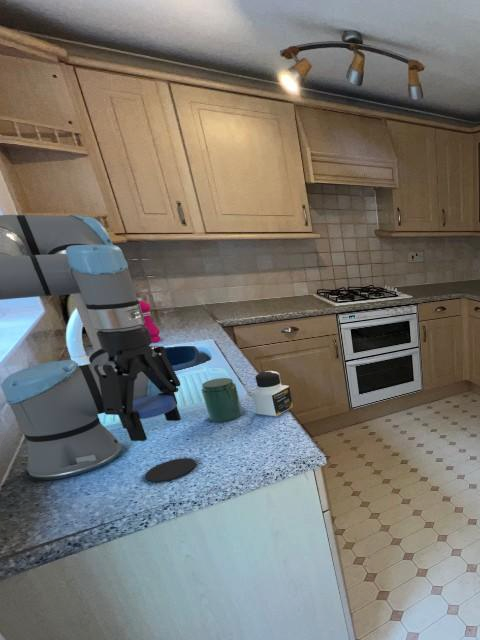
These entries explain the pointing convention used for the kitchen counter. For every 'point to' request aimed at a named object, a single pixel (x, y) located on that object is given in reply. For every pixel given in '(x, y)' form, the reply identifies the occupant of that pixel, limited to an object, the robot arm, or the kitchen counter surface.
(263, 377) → the medicine bottle
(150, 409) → the jam lid
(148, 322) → the pepper mill
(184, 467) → the rubber mat
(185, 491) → the kitchen counter surface
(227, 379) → the jam jar
